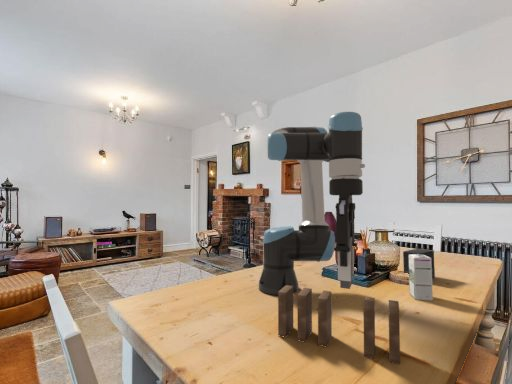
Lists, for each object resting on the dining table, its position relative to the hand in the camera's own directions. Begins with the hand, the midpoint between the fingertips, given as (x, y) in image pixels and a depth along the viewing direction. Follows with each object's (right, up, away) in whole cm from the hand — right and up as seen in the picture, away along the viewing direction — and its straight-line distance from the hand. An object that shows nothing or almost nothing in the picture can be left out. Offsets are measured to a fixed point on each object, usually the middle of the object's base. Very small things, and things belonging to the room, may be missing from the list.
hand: (346, 276), depth 65 cm
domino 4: (0, -2, 0) cm, 2 cm away
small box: (+50, -18, +55) cm, 76 cm away
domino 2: (-9, -16, +4) cm, 19 cm away
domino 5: (+5, -16, -2) cm, 17 cm away
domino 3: (-4, -16, +2) cm, 17 cm away
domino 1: (-13, -16, +6) cm, 22 cm away
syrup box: (+36, -17, +31) cm, 51 cm away
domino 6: (+9, -16, -5) cm, 19 cm away
